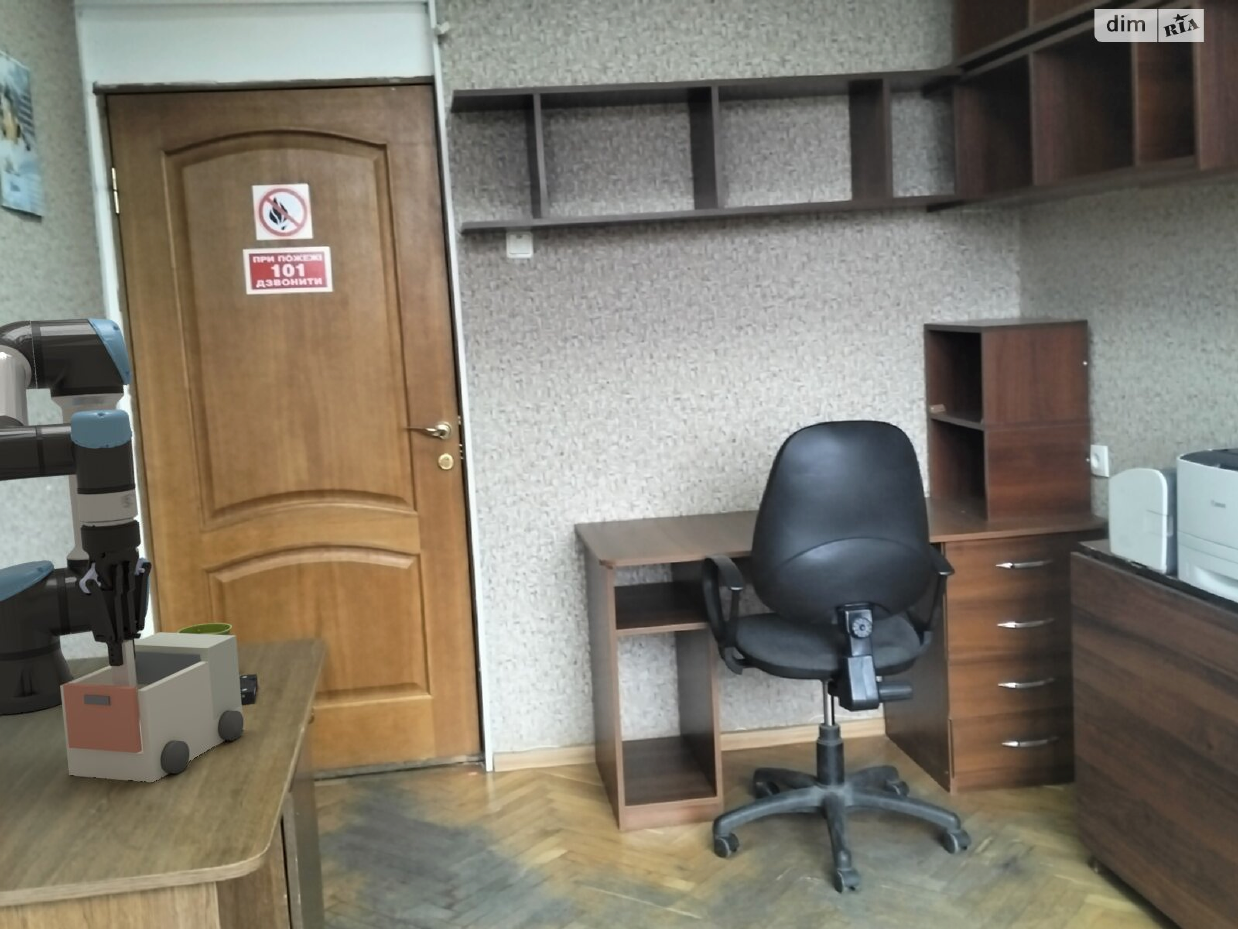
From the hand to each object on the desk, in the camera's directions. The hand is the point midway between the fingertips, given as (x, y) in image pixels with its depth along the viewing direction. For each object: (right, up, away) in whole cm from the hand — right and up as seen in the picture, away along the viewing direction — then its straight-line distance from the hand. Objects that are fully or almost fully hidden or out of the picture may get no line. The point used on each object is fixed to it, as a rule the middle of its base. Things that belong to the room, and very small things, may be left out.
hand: (124, 685), depth 162 cm
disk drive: (+1, -9, +32) cm, 33 cm away
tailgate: (-1, -8, -4) cm, 9 cm away
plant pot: (-5, -7, +45) cm, 46 cm away
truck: (+2, -11, +7) cm, 14 cm away
